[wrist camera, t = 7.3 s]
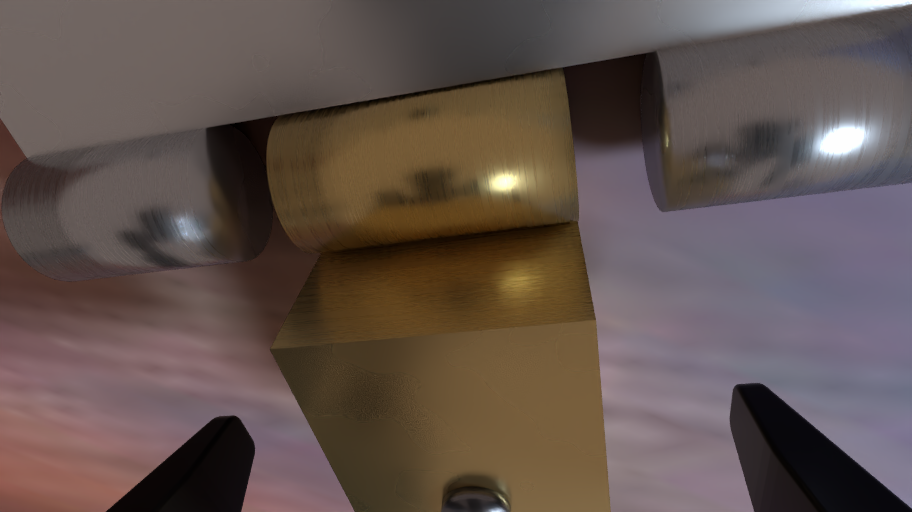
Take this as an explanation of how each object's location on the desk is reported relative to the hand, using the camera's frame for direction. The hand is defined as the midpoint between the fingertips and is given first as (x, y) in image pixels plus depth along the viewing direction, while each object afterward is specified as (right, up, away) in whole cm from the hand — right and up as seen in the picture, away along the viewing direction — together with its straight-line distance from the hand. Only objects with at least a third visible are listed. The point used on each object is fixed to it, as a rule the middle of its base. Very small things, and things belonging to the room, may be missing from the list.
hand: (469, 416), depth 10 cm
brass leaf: (0, +3, +2) cm, 3 cm away
